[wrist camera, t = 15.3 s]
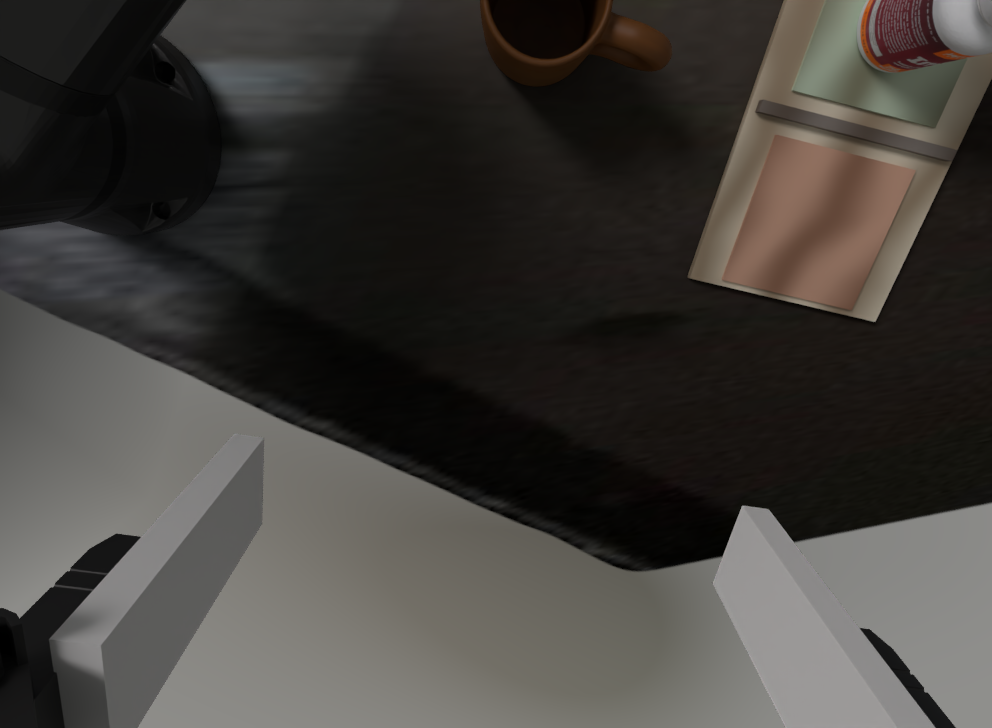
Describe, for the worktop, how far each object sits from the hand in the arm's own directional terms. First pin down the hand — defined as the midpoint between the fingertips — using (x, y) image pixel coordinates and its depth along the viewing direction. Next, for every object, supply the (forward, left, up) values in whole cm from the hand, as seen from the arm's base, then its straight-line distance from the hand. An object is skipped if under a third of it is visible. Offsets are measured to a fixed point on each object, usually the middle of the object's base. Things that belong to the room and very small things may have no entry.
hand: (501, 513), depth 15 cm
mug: (+1, +17, -33) cm, 37 cm away
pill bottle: (+23, +23, -32) cm, 45 cm away
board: (+23, +16, -32) cm, 43 cm away
